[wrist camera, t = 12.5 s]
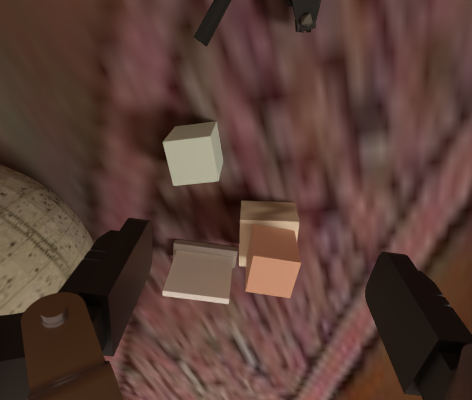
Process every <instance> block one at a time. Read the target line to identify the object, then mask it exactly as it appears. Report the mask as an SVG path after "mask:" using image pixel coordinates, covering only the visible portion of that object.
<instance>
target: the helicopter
mask: <svg viewBox="0 0 472 400" xmlns="http://www.w3.org/2000/svg"><path fill="white" fill-rule="evenodd" d="M230 2H231V0H214V1H213V3H212V5H211V6H210V8H209V10H208V12H207V14H206V16H205V17H204V19H203V21H202V23H201V25H200V26H199V28H198V30H197V32H196V34H195V35H194V38H196V39H197V40H198V41H200V42H201V43H202V44H204V45H205V46H207V45H208V43H209V41H210V40H211V38H212V36H213V34H214V32H215V30H216V28H217V26H218V24H219V22H220V21H221V19H222V17H223V15H224V13H225V11H226V9H227V7H228V5H229V3H230ZM286 2H287V4H288V6H293V10H294V14H295V18H296V19H295V28H296V32H302V33H303V32H304V31H306V32H311V29H313V28H316V19H317V15H318V11H319V7H320V2H321V0H286Z"/></svg>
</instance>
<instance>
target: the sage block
mask: <svg viewBox="0 0 472 400" xmlns="http://www.w3.org/2000/svg"><path fill="white" fill-rule="evenodd" d="M163 146H164V150H165V154H166V158H167V162H168V166H169V170H170V174H171V178H172V182H173V186H178V185H187V184H197V183H206V182H216V181H219V177H220V173H221V168H222V164H223V157H222V151H221V145H220V139H219V133H218V127H217V121H215V122H207V123H199V124H191V125H183V126H175V127H174V129H173V130H172V131H171V132H170V133H169V135H168V136H167V137H166V138H165V140H164V141H163Z"/></svg>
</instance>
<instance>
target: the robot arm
mask: <svg viewBox="0 0 472 400" xmlns="http://www.w3.org/2000/svg"><path fill="white" fill-rule="evenodd" d="M151 263H152V222H151V221H150V220H142V219H134V218H128V219H127V221H126V222H125V224H124V225H123V227H122V228H121V230H120V231H113V230H110V231H109V232H107V233H106V234H104V235H102V236H101V237H99V238H98V239H97V240H96V242H95V243H94V244H93V246H92V247H91V248H90V251H88V252H87V254H86V255H85V256H84V259H82V260H81V262H80V263H79V264H78V266H77V267H76V268H75V270H74V271H73V273H72V274H71V275H70V277H69V278H68V279H67V281H66V282H65V283H64V285H63V286H62V287H61V289H60V290H59V291H58V293H54V294H50V295H47V296H44V297H42V298H40V299H38V300H37V301H35V302H34V303H32V304H31V305H30V306H29V307H28V308H27V309H26V310H25V312H22V313H17V314H9V315H1V316H0V400H124V399H123V396H122V394H121V391H120V388H119V385H118V383H117V380H116V377H115V374H114V372H113V369H112V366H111V364H110V362H109V361H105V358H104V356H103V355H105V356H114V354H115V352H116V349H117V347H118V345H119V342H120V340H121V338H122V335H123V333H124V331H125V328H126V326H127V324H128V321H129V319H130V317H131V314H132V312H133V310H134V307H135V305H136V303H137V300H138V298H139V296H140V293H141V291H142V289H143V286H144V284H145V282H146V279H147V277H148V275H149V272H150V268H151ZM365 298H366V302H367V305H368V307H369V310H370V312H371V315H372V317H373V319H374V322H375V324H376V327H377V329H378V332H379V334H380V336H381V339H382V341H383V344H384V346H385V348H386V351H387V353H388V356H389V358H390V360H391V363H392V365H393V368H394V370H395V373H396V375H397V377H398V380H399V382H400V385H401V387H402V389H403V392H404V394H410V395H418V396H422V398H423V400H472V334H471V333H470V332H469V330H468V329H467V327H466V326H465V325H464V323H463V322H462V321H461V319H460V318H459V316H458V315H457V314H456V312H455V311H454V309H453V308H451V307H450V304H449V302H448V301H447V300H446V298H445V297H443V294H442V293H441V291H440V290H439V288H438V287H437V286H436V284H435V283H434V282H433V281H432V280H431V279H430V278H428V277H427V276H426V275H425V274H424V273H422V272H421V271H418V270H417V269H416V267H415V266H414V264H413V263H412V261H411V260H410V258H409V257H408V256H407V255H405V254H397V253H390V252H382V253H381V254H380V255H379V257H378V259H377V261H376V264H375V266H374V268H373V271H372V273H371V275H370V278H369V280H368V282H367V285H366V290H365Z"/></svg>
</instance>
